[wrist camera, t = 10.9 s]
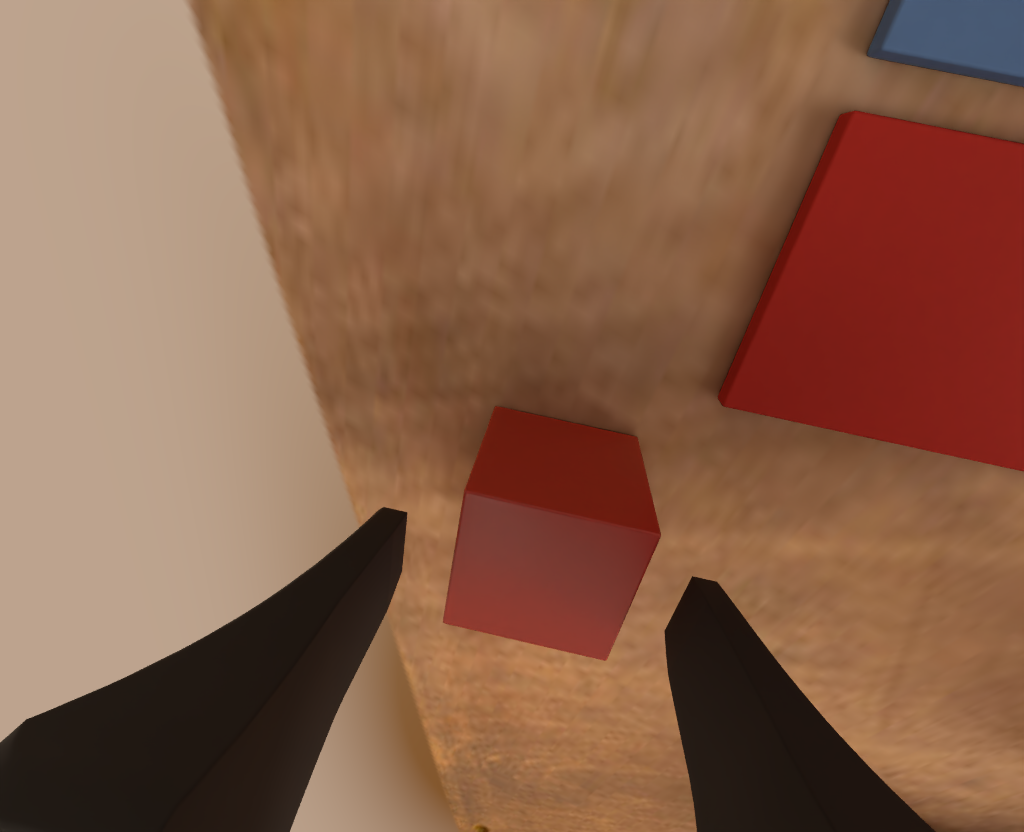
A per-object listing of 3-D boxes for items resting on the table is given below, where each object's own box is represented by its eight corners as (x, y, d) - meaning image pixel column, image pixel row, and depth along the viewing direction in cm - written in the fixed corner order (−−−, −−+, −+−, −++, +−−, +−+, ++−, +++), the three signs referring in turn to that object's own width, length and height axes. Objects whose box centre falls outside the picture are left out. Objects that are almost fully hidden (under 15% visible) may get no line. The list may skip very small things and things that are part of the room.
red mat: (1137, 489, 13) (1161, 501, 12) (716, 397, 13) (722, 406, 13) (1404, 225, 10) (1452, 228, 9) (839, 113, 10) (853, 109, 10)
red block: (599, 544, 16) (606, 662, 12) (474, 516, 16) (441, 623, 12) (638, 436, 14) (662, 535, 10) (495, 405, 14) (463, 490, 10)
